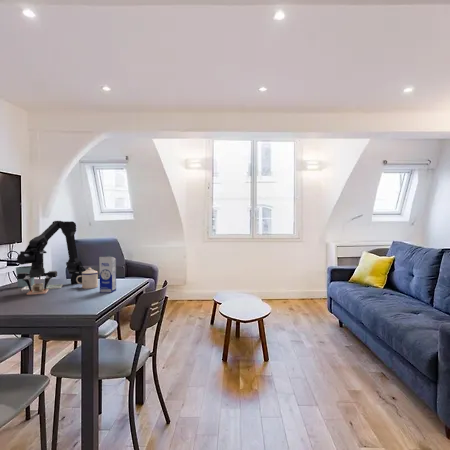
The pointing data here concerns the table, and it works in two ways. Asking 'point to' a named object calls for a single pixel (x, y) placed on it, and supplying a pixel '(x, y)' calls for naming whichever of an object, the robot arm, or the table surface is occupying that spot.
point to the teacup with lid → (89, 279)
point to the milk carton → (107, 274)
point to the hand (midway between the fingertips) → (37, 290)
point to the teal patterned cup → (20, 270)
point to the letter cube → (37, 287)
